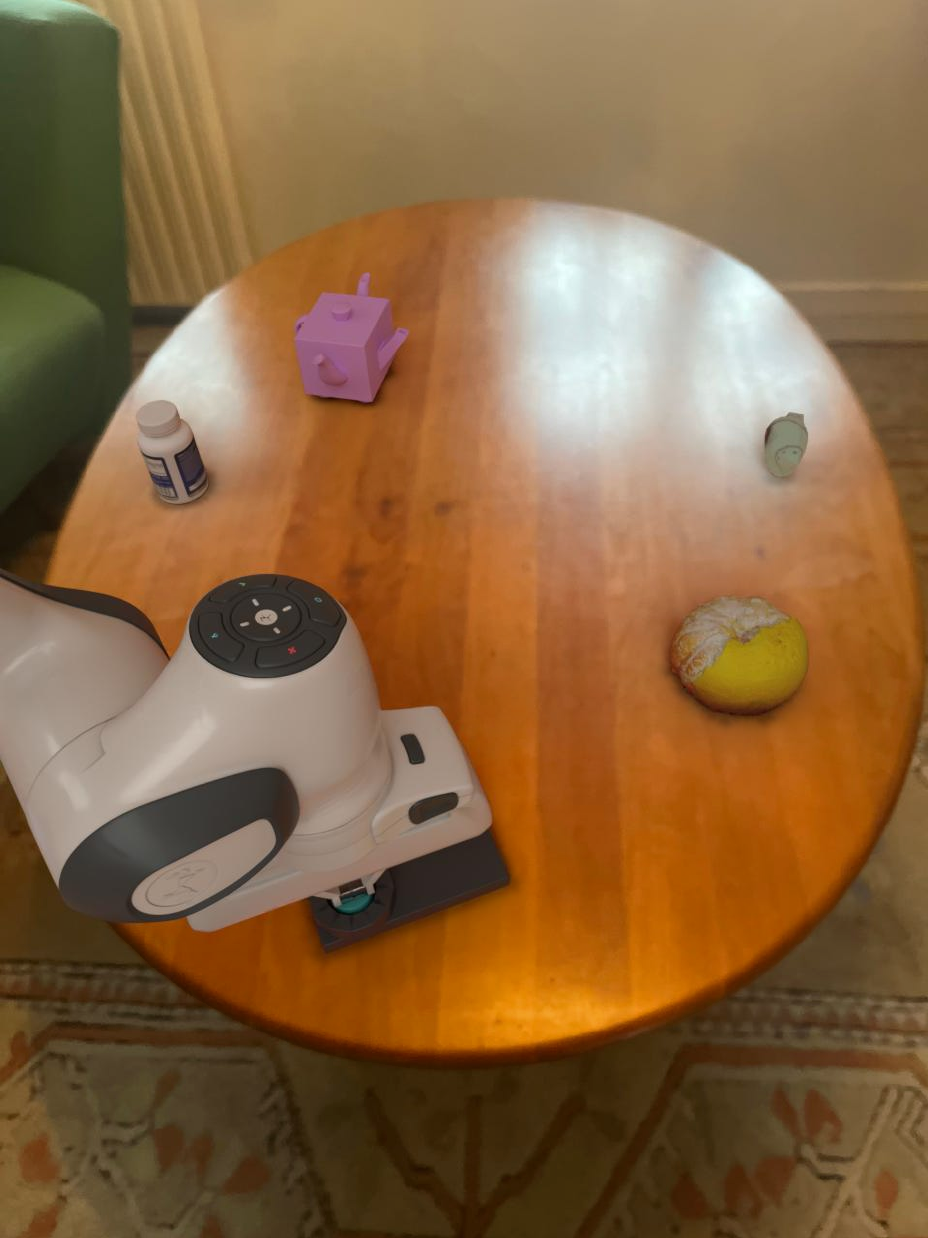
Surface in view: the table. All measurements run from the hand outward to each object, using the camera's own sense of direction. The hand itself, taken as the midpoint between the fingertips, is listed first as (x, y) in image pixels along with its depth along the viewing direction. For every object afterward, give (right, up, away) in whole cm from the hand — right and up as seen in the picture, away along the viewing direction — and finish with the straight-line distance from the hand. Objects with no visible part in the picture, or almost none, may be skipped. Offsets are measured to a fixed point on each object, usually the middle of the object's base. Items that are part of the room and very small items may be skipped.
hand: (352, 891), depth 66 cm
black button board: (+2, +2, +6) cm, 6 cm away
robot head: (+40, +34, +31) cm, 60 cm away
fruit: (+31, +14, +15) cm, 37 cm away
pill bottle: (-21, +32, +33) cm, 51 cm away
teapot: (-4, +46, +43) cm, 63 cm away
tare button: (0, -1, +1) cm, 2 cm away
